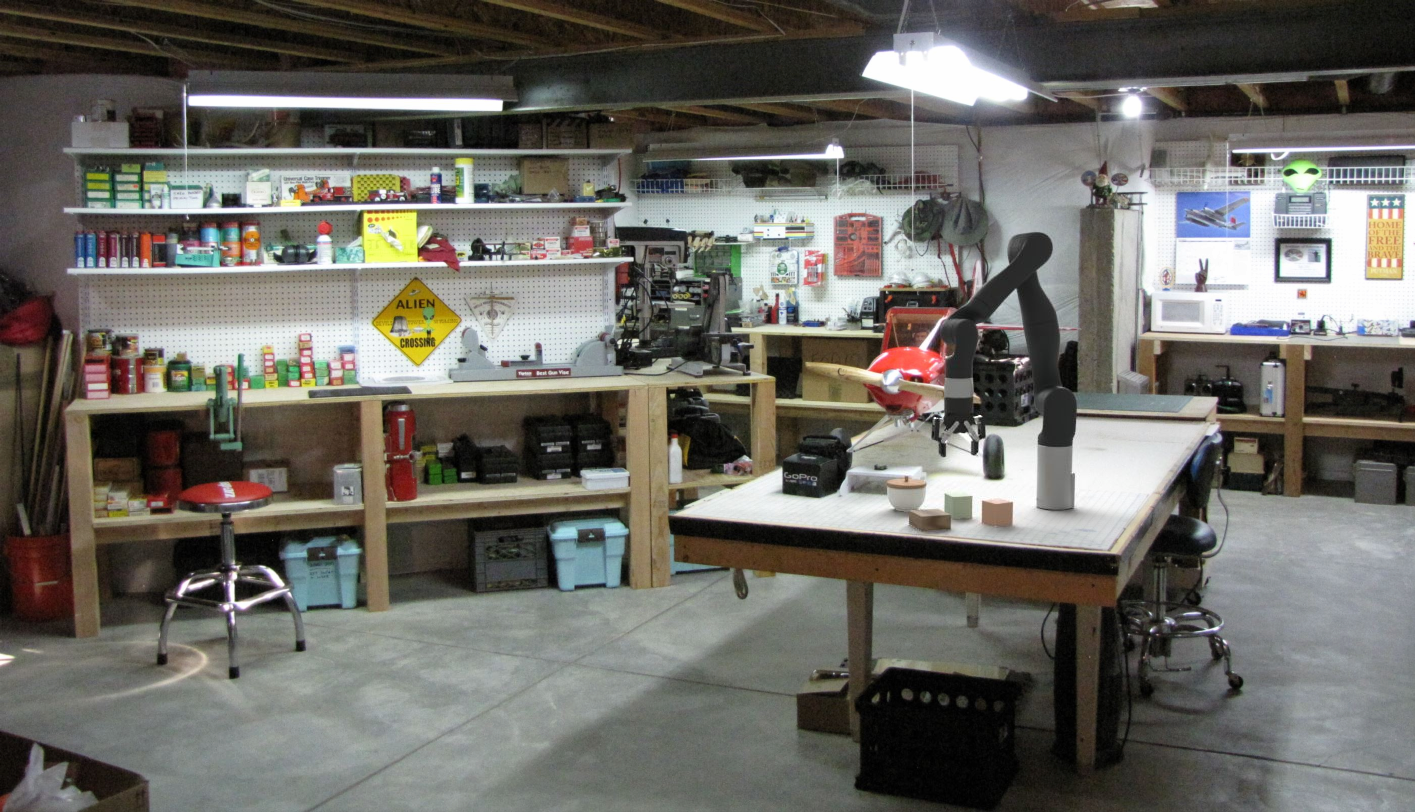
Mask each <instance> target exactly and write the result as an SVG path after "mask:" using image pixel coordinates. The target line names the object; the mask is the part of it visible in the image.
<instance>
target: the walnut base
mask: <svg viewBox="0 0 1415 812" xmlns="http://www.w3.org/2000/svg"><path fill="white" fill-rule="evenodd" d="M909 524H910V525H912V526H914V527H915V528H914V527H913V528H914V529H916V528H917V529H916V530H918V529H919V530H918V531H920V530H921V531H920V532H926V531H927V532H928V531H930V532H931V531H942V529H946V530H952V519H951V515H950V514H948V513H946V512H944V510H942V509H940V508H930V509H929V508H928V509H918V510H909V512H908V525H909ZM910 525H909V526H910ZM912 526H911V527H912Z"/></svg>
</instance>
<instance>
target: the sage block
mask: <svg viewBox="0 0 1415 812" xmlns="http://www.w3.org/2000/svg"><path fill="white" fill-rule="evenodd" d="M943 509H944V510H943V511H944V512H946V513H948V514H950V515H951V518H952V519H951V520H958V519H957V518H966V519H973V495H971V494H969V493H967V492H965V491H962V492H961V491H959V492H944V508H943Z"/></svg>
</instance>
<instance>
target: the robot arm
mask: <svg viewBox="0 0 1415 812" xmlns="http://www.w3.org/2000/svg"><path fill="white" fill-rule="evenodd" d="M1053 250H1054V245H1053V241H1052V239H1051V238H1050V236H1049V235H1048V234H1046V233H1044V232H1041V231H1031V232H1025V233H1024V232H1023V233H1019V234H1015V235H1013V236H1012V237H1011V238H1010V239H1009V240H1008V242H1007V247H1006V254H1007V262H1008V265H1006V267H1005V268H1003V269H1001V271H1000V272H998V273H997V274H995V275H994V276H992V277H991V278H990V279H989V280H987V281H986V282H985V283H984V284H982V286H980V287H979V289H978V290H977V291H976V292H975V293H974V294H973V295H972V296H971V297H970V298H969V300H968V302H966V303H965V304H964V305H962V306H961V307H959V308H958V309H957V310H956V311H954V312H953V313H951V314H950V315H948V317H946V319H945V320H944V321H943V322H942V324H941V327H940V330H939V337H940V339H941V341H942V342H943V343H944V344H947V345H949V346H955V347H954V351H953V354H951V355H948V356H947V357H946V359H945V365H944V366H945V368H944V371H945V372H944V384H943V387H944V388H943V392H944V393H943V394H944V395H943V397H944V398H943V399H944V400H943V403H944V404H943V414H944V415H943V417H932V421H931V433H930V434H931V435H930V436H931V437H930V438H931V440H932V441H935V442H937V443H938V455H940V457H941V458H946V457H947V443H946V441H947V440H948V438H949V437H951V435H952V434H954V435H957V434H967V435H968V436H969V438H970V439H971V441H970V454H971V455H972V456H975V457H976V456H977V454H979V450H980V449H979V447H980V444H979V443H980V441H981V440H984V439H986V437H987V434H986V432H987V431H986V417H985V416H984V415H980V414H978V415H977V416H974V393H975V392H974V390H975V389H974V380H973V379H974V377H973V373H974V372H973V371H974V369H973V368H974V367H973V362H974V358H975V355H976V351H977V347H978V343H979V338H980V337H979V336H980V333H979V329H978V326H977V325H979V324H983V323H985V322H986V321H988V320H989V319H990V317H992V316H993V314H994V313H995V312H996V311H997V309H999V308H1000V306H1001V305H1002V304H1003V303H1004V302H1005V301H1006V300H1007V298H1009V296H1010V295H1011V294H1012V293H1013V292H1014V291H1015V290H1016V294H1017V299H1018V303H1019V304H1018V305H1019V309H1020V313H1021V320H1022V321H1021V322H1022V328H1023V333H1024V338H1025V343H1026V348H1027V352H1028V353H1027V355H1028V358H1029V364H1030V367H1031V373H1032V374H1031V375H1032V384H1033V400H1034V402H1033V403H1034V407H1035V409H1036V410H1037V412H1038V414H1039V415H1040V416H1042V428H1041V431H1040V433H1038V435H1037V455H1036V456H1037V458H1036V460H1037V461H1036V463H1037V464H1036V499H1035V500H1036V503H1035V504H1036V505H1035V507H1037V508H1039V509H1043V510H1044V509H1045V510H1055V511H1056V510H1057V511H1059V510H1060V511H1061V510H1068V509H1072V508H1073V509H1074V508H1075V502H1076V501H1075V500H1076V497H1075V494H1076V492H1075V491H1076V474H1075V472H1073V448H1074V447H1073V445H1074V442H1073V441H1074V438H1075V435H1076V431H1077V418H1078V415H1077V413H1078V405H1077V403H1078V402H1077V398H1076V396H1075V394H1074V393H1073V392H1072V390H1070V389H1069V388H1066V387H1063V384H1062V381H1061V375H1060V370H1059V353H1060V347H1061V346H1060V345H1061V329H1060V324H1059V319H1058V314H1057V311H1056V308H1055V307H1054V304H1053V303H1052V301H1051V300H1050V298H1049V297H1048V295H1047V294H1046V292H1045V290H1044V289H1043V288H1042V285H1041V282H1040V279H1039V276H1038V270H1040V269H1041V268H1042V266H1044V265H1045V264H1046V263H1048V261H1049V260H1050V259H1051V258H1052V254H1053V252H1054V251H1053ZM974 423H975V424H976V426H977V433H976V430H975V429H974V428H973V427H972V426H973V425H974ZM942 424H944V428H943V429H942V431H941V433H940V427H942Z"/></svg>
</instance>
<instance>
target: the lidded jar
mask: <svg viewBox="0 0 1415 812" xmlns="http://www.w3.org/2000/svg"><path fill="white" fill-rule="evenodd" d="M886 492H887V493H886V494H887V500H888V502H889V503H890V505H891V506H892V508H894V510H895V509H896V510H898V511H897V512H900V511H904V513H909V510H919V509H920V508H921V507H922V505H923V504H924V502H925V499H926V495H927V494H926V493H927V481H925V480H922V479H917V478H909V475H904V478H893V479H889V480H886ZM896 510H895V511H896Z"/></svg>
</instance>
